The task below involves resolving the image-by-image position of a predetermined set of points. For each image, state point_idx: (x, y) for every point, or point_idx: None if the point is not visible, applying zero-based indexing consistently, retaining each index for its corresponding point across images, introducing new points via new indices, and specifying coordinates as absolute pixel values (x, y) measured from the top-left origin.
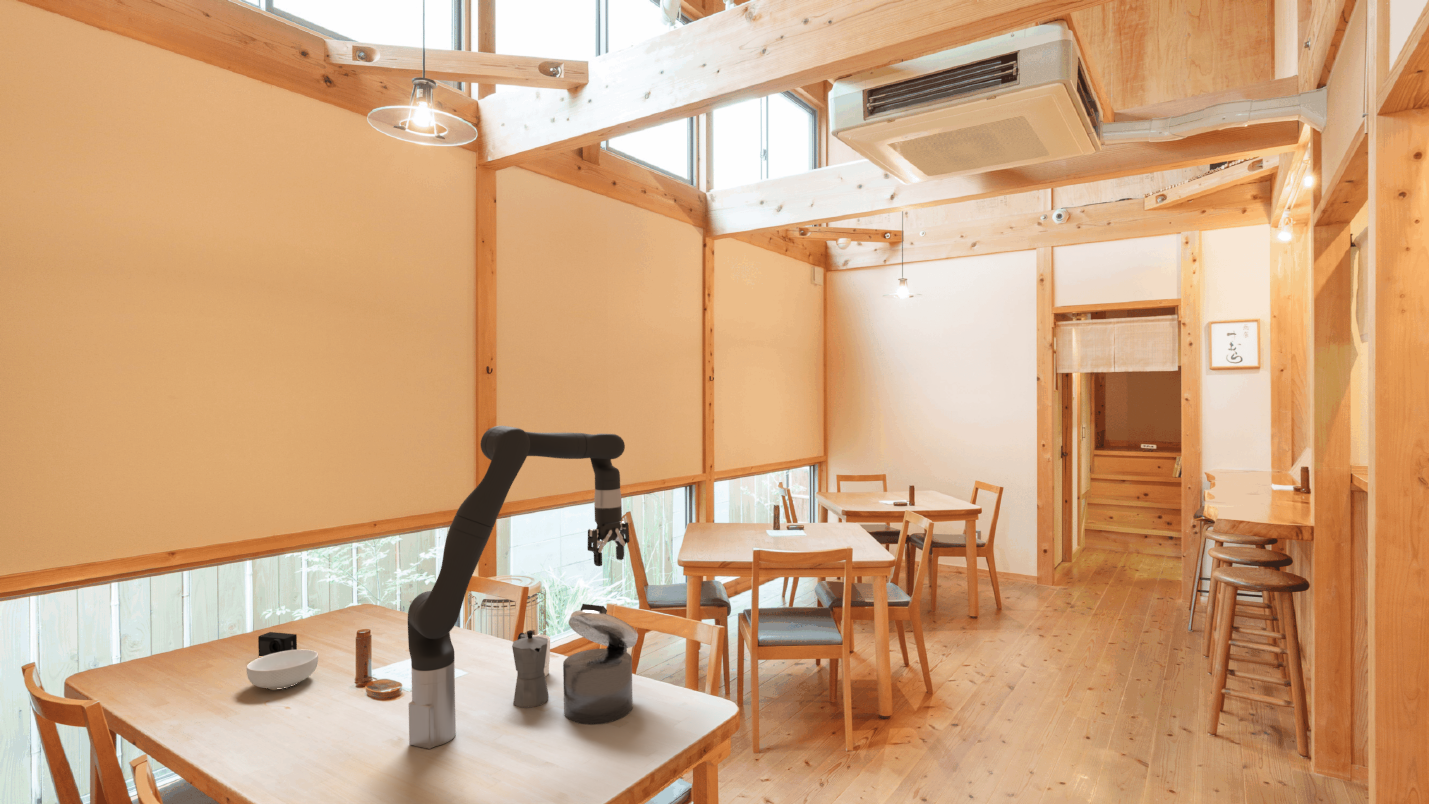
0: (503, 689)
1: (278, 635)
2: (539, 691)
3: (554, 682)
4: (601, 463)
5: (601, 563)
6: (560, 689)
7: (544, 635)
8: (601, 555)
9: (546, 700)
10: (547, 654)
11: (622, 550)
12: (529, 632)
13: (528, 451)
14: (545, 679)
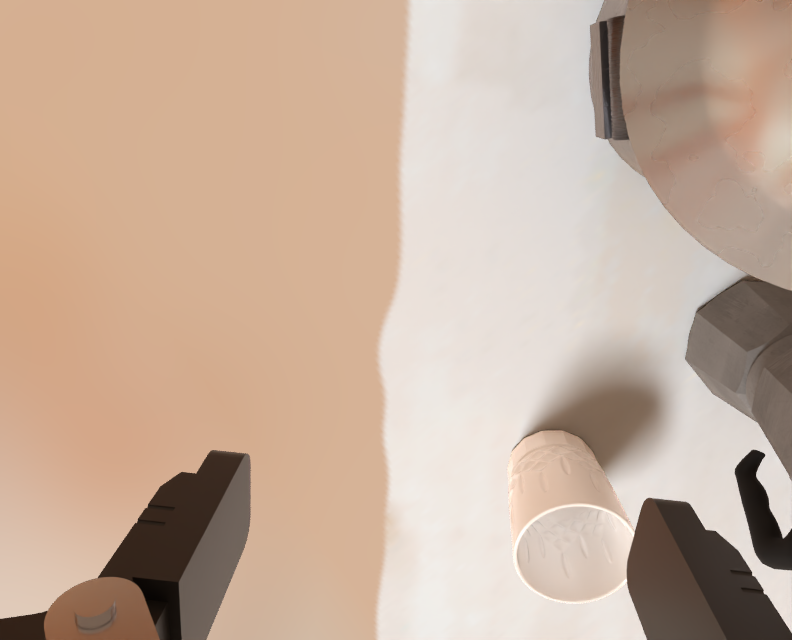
0: (703, 477)
1: None
2: None
3: (583, 368)
4: None
5: (674, 514)
6: (628, 309)
7: (517, 556)
8: (723, 605)
9: (749, 282)
10: (561, 470)
11: (185, 532)
12: None
13: None
14: (741, 334)
